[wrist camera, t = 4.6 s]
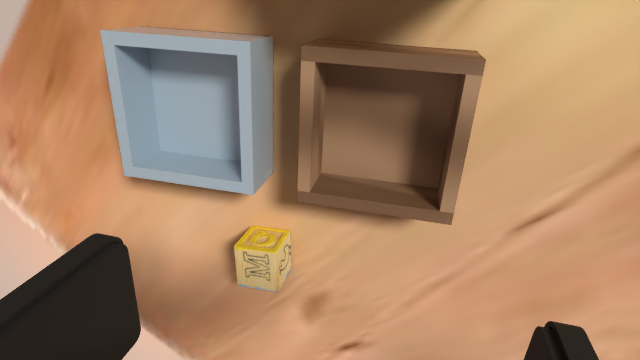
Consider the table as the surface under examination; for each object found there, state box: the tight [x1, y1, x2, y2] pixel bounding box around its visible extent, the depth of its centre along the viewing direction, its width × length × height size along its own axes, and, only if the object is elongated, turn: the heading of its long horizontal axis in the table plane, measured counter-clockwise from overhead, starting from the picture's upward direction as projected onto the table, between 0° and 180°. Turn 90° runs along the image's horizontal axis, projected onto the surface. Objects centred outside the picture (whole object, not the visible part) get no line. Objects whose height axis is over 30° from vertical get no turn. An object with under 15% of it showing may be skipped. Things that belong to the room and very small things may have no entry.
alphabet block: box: [234, 226, 291, 292], centre depth 28 cm, size 3×3×3 cm
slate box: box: [100, 26, 273, 195], centre depth 24 cm, size 8×8×4 cm
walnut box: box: [297, 39, 486, 225], centre depth 22 cm, size 8×8×4 cm
